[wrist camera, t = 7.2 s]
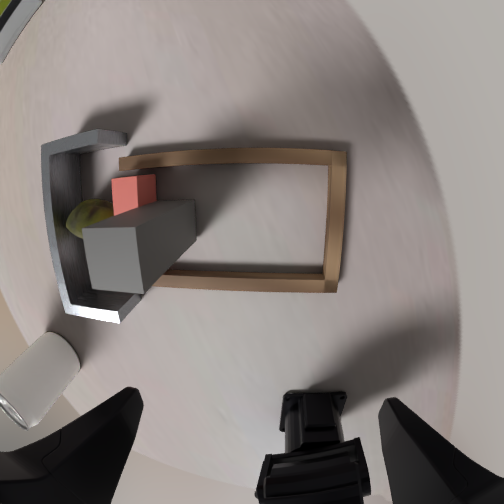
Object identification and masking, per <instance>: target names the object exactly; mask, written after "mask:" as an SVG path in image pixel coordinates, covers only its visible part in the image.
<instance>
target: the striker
mask: <svg viewBox="0 0 504 504" xmlns="http://www.w3.org/2000/svg"><path fill="white" fill-rule="evenodd" d="M112 197H113V209H114V216H112V217H110V218H107V219H104V220H102V221H99V222H97V223H94V224H92V225H89V226H87V227H84V228H82V234H83V241H84V247H85V253H86V259H87V264H88V270H89V275H90V280H91V284H92V289H99V290H108V291H117V292H128V293H138V294H145V293H146V291H147V290H148V289H149V288H150V287H151V286H152V285H153V284H154V283H155V282H156V281H157V280H158V279H159V278H160V277H161V276H162V275H163V274H164V273H165V272H166V271H167V270H168V269H169V268H170V266H171V265H172V264H173V263H174V262H175V261H176V260H177V259H178V258H179V257H180V256H181V255H182V254H183V253H184V252H185V251H186V250H187V249H188V248H189V247H190V246H191V245H192V244H193V243H194V242H195V241H196V220H195V200H164V201H157V200H156V178H155V174H151V175H139V176H130V177H122V178H114V179H112Z"/></svg>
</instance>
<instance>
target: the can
mask: <svg viewBox="0 0 504 504" xmlns="http://www.w3.org/2000/svg"><path fill="white" fill-rule="evenodd" d="M79 370H80V362H79V358H78V356H77V354H76V352H75V350H74V349H73V347H72V346H71V345H70V344H69V343H68V342H67V341H66V340H65V339H64V338H63V337H62V336H60V335H58V334H56V333H53V332H46V333H45V334H43V335H42V336H41V337H40V338H39V339H37V340H36V341H35V342H34V343H33V344H32V345H31V346H30V347H29V348H28V349H26V350H25V351H24V352H23V353H22V354H21V355H20V356H19V357H18V358H17V359H16V360H15V361H14V362H13V363H12V364H11V365H10V366H9V367H8V368H7V369H6V370H5V371H4V372H3V373H2V374H1V375H0V407H1V409H2V410H3V411H4V412H5V413H6V414H7V416H8V417H9V418H10V419H11V420H13V422H15V423H16V424H17V425H18V426H19V427H21V428H22V429H24V430H27V431H28V430H29V428H30V427H32V426H34V425H37V424H38V423H39V422H40V421H41V419H42V418H43V417H44V415H45V414H46V413H47V411H48V410H49V409H50V408H51V406H52V405H53V404H54V402H55V401H56V400H57V399H58V397H59V396H60V395H61V394H62V392H63V391H64V390H65V389H66V387H67V386H68V385H69V384H70V382H71V381H72V380H73V378H74V377H75V376H76V375H77V373H78V372H79Z"/></svg>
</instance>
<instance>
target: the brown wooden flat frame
mask: <svg viewBox="0 0 504 504" xmlns="http://www.w3.org/2000/svg"><path fill="white" fill-rule="evenodd" d="M228 163H282V164H310V165H328V197H327V218H326V234H325V248H324V261H323V272H322V274H304V273H258V272H224V271H196V270H172V269H168V270H167V271H166V272H165V273H164V274H163V275H162V276H161V277H160V278H159V279H158V280H157V281H156V282H155V283H154V284H153V285H152V286H157V287H172V288H189V289H208V290H230V291H258V292H306V293H337V287H338V278H339V270H340V261H341V251H342V240H343V227H344V213H345V195H346V166H347V152H344V151H332V150H317V149H296V148H222V149H201V150H186V151H173V152H162V153H153V154H144V155H136V156H128V157H121V158H119V171H125V170H135V169H144V168H155V167H167V166H182V165H200V164H228Z"/></svg>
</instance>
